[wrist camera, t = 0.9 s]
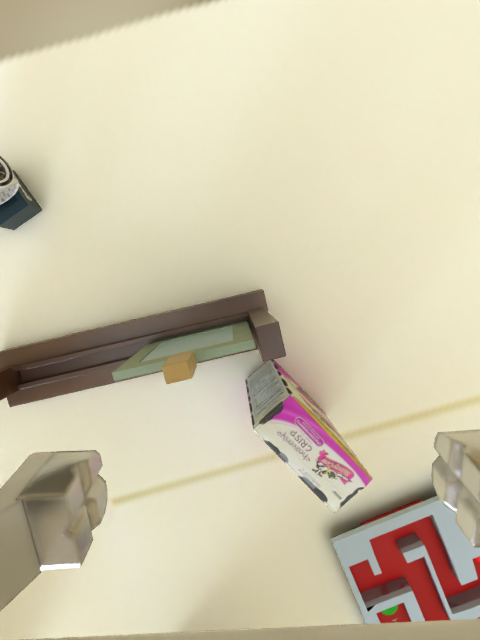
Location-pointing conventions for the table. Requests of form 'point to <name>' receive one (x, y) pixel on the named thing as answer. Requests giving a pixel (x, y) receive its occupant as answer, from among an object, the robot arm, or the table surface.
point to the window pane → (186, 352)
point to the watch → (14, 199)
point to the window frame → (125, 347)
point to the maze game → (412, 566)
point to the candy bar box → (303, 436)
